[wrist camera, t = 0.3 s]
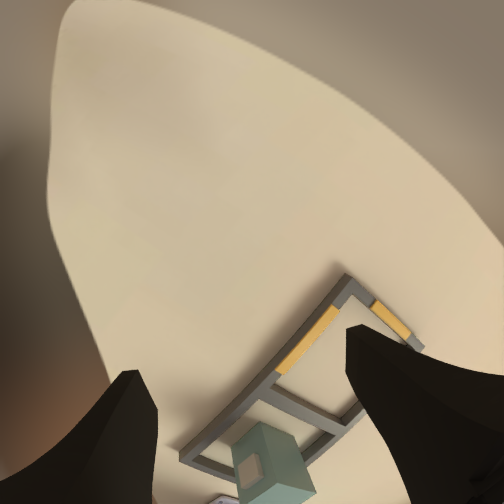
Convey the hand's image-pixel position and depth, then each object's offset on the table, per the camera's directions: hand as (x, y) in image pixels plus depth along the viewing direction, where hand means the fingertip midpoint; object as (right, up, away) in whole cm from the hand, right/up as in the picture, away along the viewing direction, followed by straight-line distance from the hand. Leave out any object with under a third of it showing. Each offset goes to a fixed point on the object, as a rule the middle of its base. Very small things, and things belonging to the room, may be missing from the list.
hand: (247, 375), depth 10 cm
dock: (+4, -9, +13) cm, 16 cm away
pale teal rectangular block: (+1, -13, +13) cm, 18 cm away
